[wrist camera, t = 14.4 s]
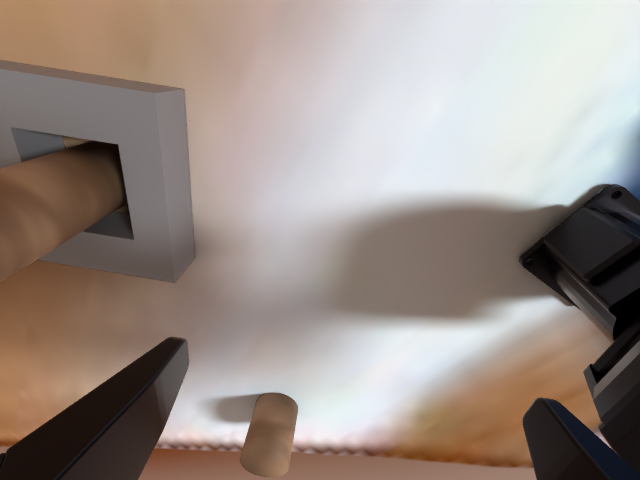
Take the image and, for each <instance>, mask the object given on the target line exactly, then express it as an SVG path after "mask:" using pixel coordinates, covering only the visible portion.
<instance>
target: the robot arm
mask: <svg viewBox="0 0 640 480" xmlns="http://www.w3.org/2000/svg"><path fill="white" fill-rule="evenodd" d="M616 191H617V192H616ZM614 192H616V194H615V195H614V196H612V194H613V193H614ZM611 196H612V197H611ZM529 259H532V260H531V261H529V262H527V261H528V260H529ZM519 262H520V263H521V264H522V266H523V267H524V268H525V269H527V270H528V271H529V272H531V273H532V274H533V275H535V276H536V277H537V278H539V279H540V280H541V281H543V282H544V283H545V284H547V285H548V286H549V287H551V288H552V289H553V290H555V291H556V292H557V293H558V294H560V295H561V296H562V297H564V298H565V299H566V300H568V301H569V302H570V303H572V304H573V305H574V306H576V307H577V308H578V309H580V310H581V311H582V312H583V313H584V314H585V315H586V316H587V317H588V318H589V319H590V320H591V321H592V322H593V323H594V324H595V325H596V326H597V328H598V329H599V330H600V331H601V332H602V333H603V334H604V335H605V336H606V337H607V338H608V339H609V340H610V341H611V343H612V344H611V345H610V346H609V347H608V349H607V350H606V351H605V352H604V353H603V354H602V355H601V356H600V357H599V358H598V359H597V361H596V362H595V363H594V364H590V365H589V366H588V367H587V368H586V369H585V370H584V371H583V373H584V376H585V378H586V381H587V384H588V387H589V389H590V392H591V395H592V398H593V401H594V404H595V406H596V409H597V411H598V414H599V417H600V420H601V423H600V424H599V425H598V427H599V430H600V432H601V434H602V436H603V437H604V438H605V440H606V441H607V443H608V444H609V445H610V447H611V448H612V449H611V448H610V447H609V446H608V445H606V444H605V443H604V442H603V441H602V440H601V439H600V438H599V437H598V436H596V435H595V434H594V433H593V432H592V431H591V430H590V429H589V428H587V427H586V426H585V425H584V424H583V423H582V422H581V421H580V420H578V419H577V418H576V417H575V416H574V415H573V414H572V413H571V412H570V411H568V410H567V409H566V408H565V407H564V406H563V405H562V404H561V403H559V402H558V401H556V400H553V399H548V398H541V397H540V398H537V399H536V400H535V401H534V402H533V404H532V405H531V406H530V408H529V409H528V410H527V412H526V413H525V415H524V417H523V428H524V432H525V436H526V440H527V443H528V447H529V451H530V455H531V459H532V463H533V467H534V471H535V474H536V478H537V480H640V201H639V200H638V199H637V198H636V197H634V196H633V195H632V194H631V193H630V192H629V191H628V190H627V189H626V188H624V187H622V186H620V185H618V184H613V185H609V186H608V187H606V188H605V189H603V190H602V191H601V192H600V193H598V194H597V195H596V196H595V197H593V198H592V199H591V200H590V201H589V202H587V203H586V204H585V205H584V206H582V207H581V208H580V209H579V210H577V211H576V212H575V213H574V214H572V215H571V216H570V217H569V218H567V219H566V220H565V221H564V222H562V223H561V224H560V225H559V226H557V227H556V228H555V229H554V230H552V231H551V232H550V233H549V234H547V235H546V236H545V237H544V238H542V239H541V240H540V241H539V242H537V243H536V244H535V245H534V246H532V247H531V248H530V249H529V250H528V251H526V252H525V253H524V254H523V255H522V256H521V257H520V259H519ZM188 366H189V354H188V343H187V340H186V339H183V338H177V337H169V338H167V339H166V340H164V341H163V342H161V343H160V344H159V345H157V346H156V347H154V348H153V349H151V350H150V351H148V352H147V353H146V354H144V355H143V356H141V357H140V358H138V359H137V360H136V361H134V362H133V363H131V364H130V365H128V366H127V367H125V368H124V369H123V370H121V371H120V372H118V373H117V374H115V375H114V376H112V377H111V378H110V379H108V380H107V381H105V382H104V383H102V384H101V385H99V386H98V387H97V388H95V389H94V390H92V391H91V392H89V393H88V394H87V395H85V396H84V397H82V398H81V399H79V400H78V401H76V402H75V403H74V404H72V405H71V406H69V407H68V408H66V409H65V410H63V411H62V412H61V413H59V414H58V415H56V416H55V417H53V418H52V419H51V420H49V421H48V422H46V423H45V424H43V425H42V426H40V427H39V428H38V429H36V430H35V431H33V432H32V433H30V434H29V435H27V436H26V437H25V438H23V439H22V440H20V441H19V442H17V443H16V444H14V445H13V446H12V447H10V448H9V449H8V450H7V451H6V453H1V454H0V480H138V479H139V477H140V475H141V473H142V471H143V469H144V467H145V465H146V463H147V461H148V459H149V457H150V455H151V453H152V451H153V450H154V448H155V446H156V444H157V442H158V440H159V438H160V436H161V434H162V432H163V429H164V427H165V425H166V422H167V420H168V417H169V415H170V412H171V410H172V407H173V405H174V402H175V400H176V397H177V395H178V392H179V390H180V387H181V385H182V382H183V380H184V377H185V375H186V372H187V369H188Z"/></svg>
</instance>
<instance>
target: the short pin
mask: <svg viewBox="0 0 640 480" xmlns="http://www.w3.org/2000/svg"><path fill="white" fill-rule="evenodd" d="M297 413H298V406H297V404H296V402H295V401H294V400H293V399H292V398H290V397H289V396H287V395H284V394H281V393H266V394H263V395H261V396H260V397H259V398H258V399H257V401H256V405H255V408H254V412H253V415H252V419H251V422H250V426H249V429H248V433H247V436H246V440H245V443H244V447H243V450H242V454H241V457H240V463H241V465H242V466H243V468H245V469H246V470H247V471H249V472H250V473H252V474H255V475H258V476H263V477H278V476H282V475H284V474H285V473H286V472H287V471H288V469H289V463H290V457H291V450H292V444H293V438H294V432H295V425H296V419H297Z"/></svg>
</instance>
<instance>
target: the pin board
mask: <svg viewBox="0 0 640 480" xmlns="http://www.w3.org/2000/svg"><path fill="white" fill-rule="evenodd" d="M62 136H69V137H75V138H81V139H87V140H94V141H100V142H106V143H112V144H118V146H119V152H120V158H121V164H122V170H123V176H124V182H125V188H126V194H127V200H128V206H129V212H130V214H128V213H122V212H116V211H114V212H113V213H111V214H109V215H108V216H106V217H105V218H103V219H101V220H100V221H98V222H97V223H95V224H93V225H92V226H90V227H89V228H87V229H85V230H84V231H82V232H81V233H79V234H77V235H76V236H74V237H73V238H71V239H69V240H68V241H66V242H65V243H63V244H61V245H60V246H58V247H57V248H55V249H53V250H52V251H50V252H49V253H47V254H45V255H44V256H42V257H41V258H39V259H37V260H40V261H46V262H52V263H58V264H64V265H70V266H76V267H82V268H88V269H95V270H101V271H107V272H113V273H119V274H125V275H131V276H137V277H143V278H149V279H155V280H161V281H167V282H173V283H175V282H176V281H177V279H178V278H179V277H180V276H181V274H182V273H183V272H184V271H185V270H186V268H187V267H188V266H189V265H190V263H191V262H192V261H193V260H194V259H195V248H194V233H193V217H192V201H191V186H190V170H189V155H188V139H187V123H186V108H185V92H184V89H181V88H174V87H168V86H162V85H155V84H149V83H143V82H136V81H130V80H124V79H117V78H111V77H105V76H98V75H92V74H86V73H79V72H73V71H67V70H60V69H54V68H48V67H41V66H35V65H29V64H22V63H16V62H10V61H3V60H0V169H1V168H5V167H8V166H11V165H15V164H18V163H21V162H25V161H28V160H31V159H35V158H38V157H41V156H45V155H48V154H51V153H55V152H58V151H61V150H65V146H64V142H63V138H62Z"/></svg>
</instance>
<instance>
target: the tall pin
mask: <svg viewBox="0 0 640 480" xmlns="http://www.w3.org/2000/svg"><path fill="white" fill-rule="evenodd" d="M127 203H128V200H127V194H126V188H125V182H124V176H123V170H122V164H121V158H120V152H119V146H118V144H112V143H106V142H100V141H91V142H88V143H85V144H81V145H78V146H75V147H71V148H68V149H65V150H61V151H58V152H55V153H51V154H48V155H45V156H41V157H38V158H35V159H31V160H28V161H25V162H21V163H18V164H15V165H11V166H8V167H5V168H1V169H0V283H1V282H2V281H4V280H5V279H7V278H9V277H10V276H12V275H13V274H15V273H17V272H18V271H20V270H21V269H23V268H25V267H26V266H28V265H29V264H31V263H33V262H34V261H36V260H37V259H39V258H41V257H42V256H44V255H45V254H47V253H49V252H50V251H52V250H53V249H55V248H57V247H58V246H60V245H61V244H63V243H65V242H66V241H68V240H69V239H71V238H73V237H74V236H76V235H77V234H79V233H81V232H82V231H84V230H85V229H87V228H89V227H90V226H92V225H93V224H95V223H97V222H98V221H100V220H101V219H103V218H105V217H106V216H108V215H109V214H111V213H113V212H114V211H116V210H117V209H119V208H121V207H122V206H124V205H125V204H127Z"/></svg>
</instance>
